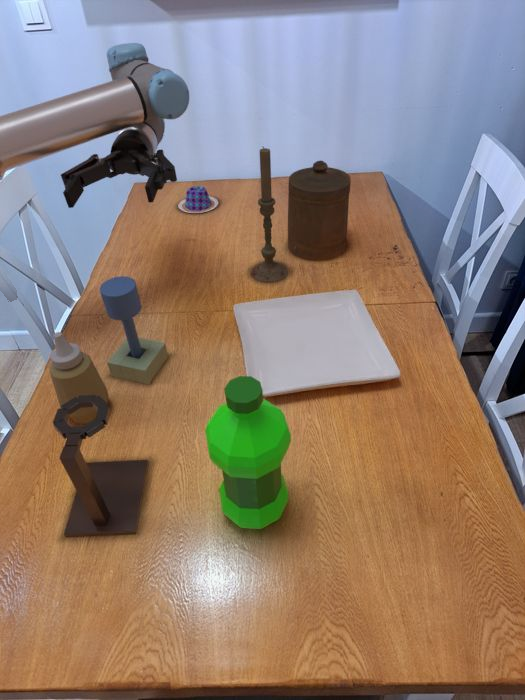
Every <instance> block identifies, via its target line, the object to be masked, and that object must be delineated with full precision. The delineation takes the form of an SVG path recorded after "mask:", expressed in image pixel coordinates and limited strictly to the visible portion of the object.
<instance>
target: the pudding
mask: <svg viewBox="0 0 525 700" xmlns="http://www.w3.org/2000/svg"><path fill="white" fill-rule="evenodd" d="M212 202H214V205H213V204H212ZM218 205H219V200H218V199H217V198H216V197H213V196H212V195H211V196H210V195H209V193H208V189H206V187H205V186H201V185H197V186H191V187H189V188H187V190H186V194H185V198H183V199H182V200H181V201H180V202H179V203H178V205H177V206H178V209H179V210H180V211H182V212H185V213H188V214H202V213H206V212H210V211H213V209H215V208H217V206H218ZM183 206H184V208H185V209H184V208H183ZM210 207H211V208H210ZM209 208H210V209H209ZM186 209H187V210H186ZM203 210H204V211H203Z"/></svg>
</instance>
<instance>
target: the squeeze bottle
mask: <svg viewBox="0 0 525 700" xmlns="http://www.w3.org/2000/svg"><path fill="white" fill-rule="evenodd" d="M53 340H54V349H52V350H51V352H50V355H49V358H50V361H51V363H50V365H49V374H50V377H51V381H52V384H53V388H54V391H55V395H56V397H57V401H58V404H59V407H60V406H61V405H63V404H65V403H66V402H68V401H69V400H71V399H73V398H74V397H77V398H78V396H81V395H96V396H100V397H101V398H102V399H103V400H104V401H105V402H107V403H108V400H109V391H108V388H107V385H105V383H104V381H103V379H102V377H101V375H100V373H99V372H98V370H97V367H96V365H95V364H94V362H93V360H92V358H91V356H90V355H89V354H87V352H84V351H82V349H81V347H80V346H79V345H78V344H76V343H73V342H69V340H68V339H67V338H66V337H65V336H64V334H63V333H62V332H59V331H57V332H55V333H54V334H53ZM96 414H97V410H96V409H95V408H94V407H84V408H79V409H78V410H76V411H75V412H73V413H72V414H70V415H69V419H71V420H73V422H75V423H77V424H81V425H86V424H87V423H89V422H90V421H92V420H93V419H95V417H96Z"/></svg>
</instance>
